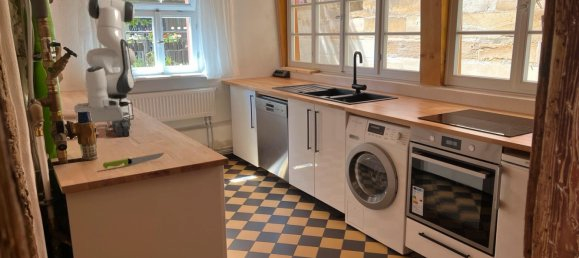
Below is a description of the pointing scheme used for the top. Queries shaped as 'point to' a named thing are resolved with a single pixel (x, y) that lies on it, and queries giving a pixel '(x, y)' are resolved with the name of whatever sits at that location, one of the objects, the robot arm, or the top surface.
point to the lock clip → (101, 130)
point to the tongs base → (119, 126)
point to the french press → (120, 96)
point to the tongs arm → (125, 128)
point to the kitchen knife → (132, 160)
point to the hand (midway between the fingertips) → (101, 131)
